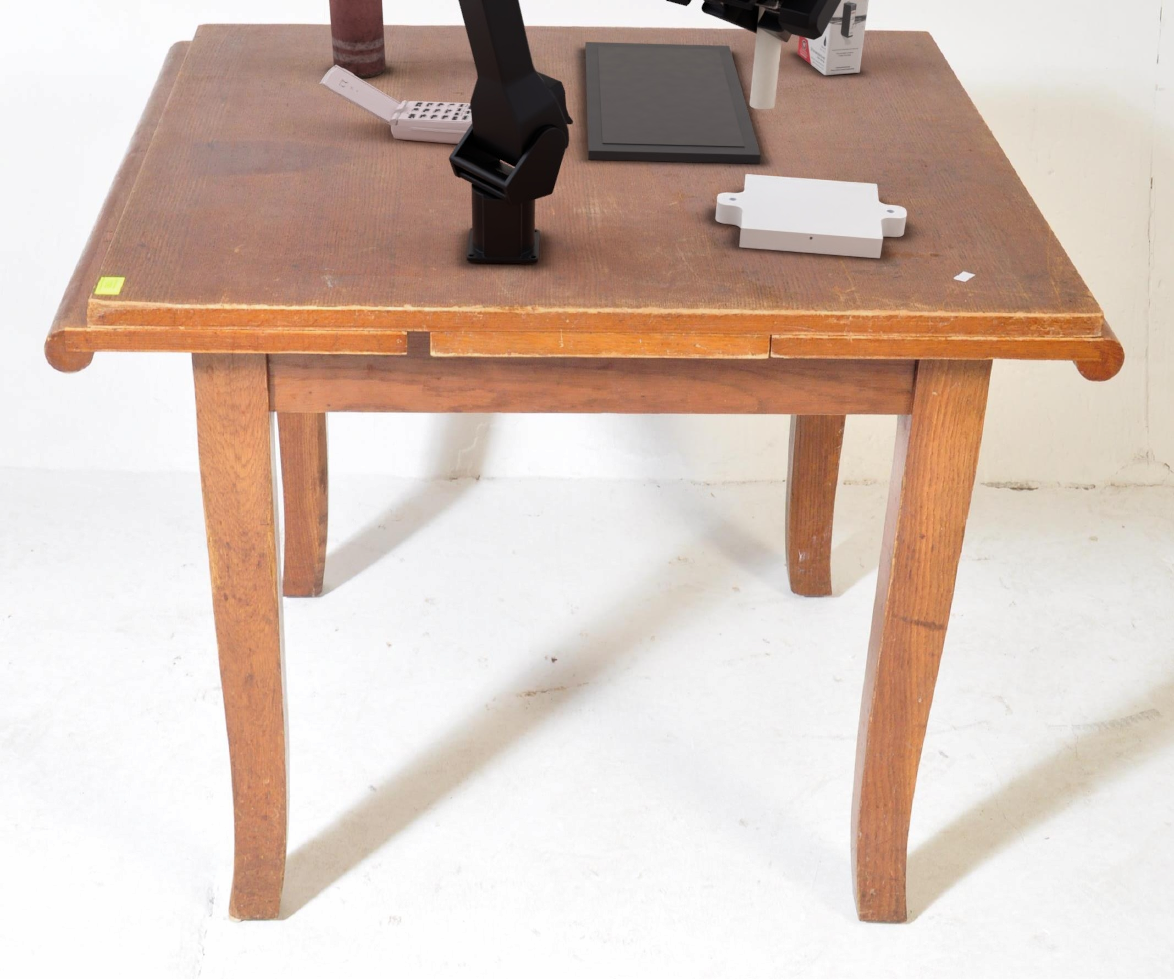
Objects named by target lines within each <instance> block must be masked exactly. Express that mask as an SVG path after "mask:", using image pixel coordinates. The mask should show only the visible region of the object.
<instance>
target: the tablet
mask: <svg viewBox="0 0 1174 979" xmlns="http://www.w3.org/2000/svg"><path fill="white" fill-rule="evenodd" d="M584 44H585V45H584V50H585V51H584V53H585V54H584V55H585V56H584V57H585V86H586V87H585V88H586V89H585V92H586V94H585V95H586V96H585V97H586V127H587V129H586V130H587V133H586V134H587V160H593V161H631V162H668V163H669V162H671V163H673V162H675V163H677V162H678V163H711V164H712V163H716V164H755V165H757V164H759V165H760V164H761V156H762V155H761V152H760V148H759V145H758V141H757V137H756V133H755V130H754V127H753V123H752V120H751V117H750V113H749V110H748V106H747V102H746V99H745V96H744V95H745V94H744V92H743V89H742V84H741V81H740V78H739V75H738V74H739V73H738V70H737V68H736V64H735V61H734V57H733V53H732V50H731V46H730V45H717V44H716V45H715V44H713V45H712V44H682V43H681V44H679V43H643V42H642V43H641V42H640V43H638V42H637V43H636V42H599V41H585V42H584Z"/></svg>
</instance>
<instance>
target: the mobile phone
mask: <svg viewBox="0 0 1174 979" xmlns="http://www.w3.org/2000/svg"><path fill="white" fill-rule="evenodd" d="M318 85H320V86H321V87H324V88H325V89H327V90H328V91H331V92H332V93H334V94H335V95H337V96H339V97H340V98H342V99H343V100H346V101H347V102H349V103H351V104H352V105H354V106H356V107H358V108H359V109H361V110H363V111H364V112H366V113H367V114H370V115H372V116H374V117H375V118H376V119H379V120H380V121H382V122H383V123H386V124H387V125H389V126H390V132H391V134H392V137H393V139H396V140H404V141H415V142H416V141H417V142H427V143H429V142H430V143H439V144H440V143H441V144H454V145H458V143H459V142H460V140H461V139H462V137H463V136H464V134H465V133H466V131H467V130H468V128H469V127H470V125H471V124H472V117H471V107H470V102H448V101H447V102H445V101H443V102H442V101H422V100H421V101H419V100H418V101H417V100H407V99H404V100H402V101H401V102H400V101H398V100H397V99H395V98H393V97H391V96H390V95H388V94H386V93H385V92H383V91H382V90H380V89H378V87H375V86H373V85H372V84H370V83H368V82H366V81H365V80H364V79H363V78H358V77H356V76H355V75H354V74H353V73H351V72H349V71H348V70H346V69H344V68H341V67H339V66H338V65H335V66H334V65H333V66H332V67H331V68H329V69H328V71H327V72H326V73H325V74H324V75H323V77H322V78H321V80H320V82H319V83H318Z"/></svg>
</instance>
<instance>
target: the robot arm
mask: <svg viewBox="0 0 1174 979" xmlns="http://www.w3.org/2000/svg"><path fill="white" fill-rule="evenodd" d="M457 1H458V4H459V8H460V12H461V15H462V20H463V23H464V27H465V31H466V35H467V39H468V44H469V47H470V50H471V55H472V58H473V59H472V60H473V62H474V66H475V69H476V77H477V78H476V82H475V84H474V88H473V91H472V95H471V97H470V102H469V103H470V107H471V117H472V124H471V125H470V127H469V128H468V130H467V131H466V133H465V134H464V136H463V137H462V139H461V140H460V142H459V143H458V144H456V146H455V147H454V148H453V151H452V152H451V153H450V155H449V157H448V161H449V164H450V166H451V169H452V172H453V175H454V176H455V177H456V178H458V179H462V180H465V181H466V182H468V183H470V186H471V187H470V189H471V192H470V193H471V228H469V232H468V239H467V247H466V253H465V256H466V257H465V260H466V261H467V262H469V263H488V264H489V263H490V264H491V263H494V264H537V263H539V260H540V258H539V256H540V229H538V228H536V200H538V199H541V198H544V197H547V196H551V195H552V194H553V193H554V190H555V188H556V183H557V180H558V176H559V172H560V170H561V166H562V163H563V159H564V155H565V153H566V149H568V147H569V142H570V132H569V126H568V125H573V124H574V120H573V118H572V117H571V116H570V113H569V110H568V108H567V99H566V90H565V87H564V84H563V82H562V80H559V79H556V78H554V77H551V76H550V75H547V74H545V73H542V72H540V71H537V69H536V67H535V65H534V62H533V58H532V52H531V49H530V44H529V40H528V35H527V31H526V30H527V29H526V27H525V22H524V18H523V12H522V9H521V4H520V1H519V0H457ZM665 1H666V2H670V3H673V4H676V5H681V6H684V7H687V6H689V5H690V4H691V2H692V0H665ZM840 2H841V0H703V3H702V5H701V8H700V10H701V11H702V12H703V13H704V14H706V15H709V16H712V17H714V18H717V19H720V20H722V21H724V22H727V23H729V24H732V25H734V26H737V27H740V28H742V29H744V30H746V31H749V32H750V33H753V34H756V35H757V27H758V28H760V29H762V30H763V31H765V32H767V33H769V34H771V35H772V36H774V37H776V38H778V39H780V40H782V42H784V43H789V41H790V39H791V37H792V36H797V37H799V36H800V37H804V38H808V39H812V40H815V39H817V38H819V37H821V36H822V35H823V33H824V31H825V29H826V28H827V26H828V24H829V22H830V20H831V18H832V17H833V15H834V13H835V11H836V9H837V7H838V6H839V4H840ZM759 6H760V7H764V8H765V11H764V13H763V15H762V16H761V18H760V20H759V22H758V15H759Z"/></svg>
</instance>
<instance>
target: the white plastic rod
mask: <svg viewBox="0 0 1174 979" xmlns="http://www.w3.org/2000/svg"><path fill="white" fill-rule="evenodd" d="M764 11H765V8H764V7H760V6H759V15H758V22H759V20H760V18H761V16H762V15H763V13H764ZM755 36H756V37H755V46H754V56H753V66H752V75H751V76H752V77H751V87H750V96H749V106H750V108H753V109H755V110H759V111H769V110H772V109H774V108H775V106H776V96H777V87H778V79H779V71H780V70H779V69H780V60H781V53H782V52H781V51H782V42H783V41H782V40H780V39H778V38H776V37H774V36H772V35H771V34H769V33H767V32H765V31H763V30H762V29H760V28H758V27H757V34H756V35H755Z"/></svg>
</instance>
